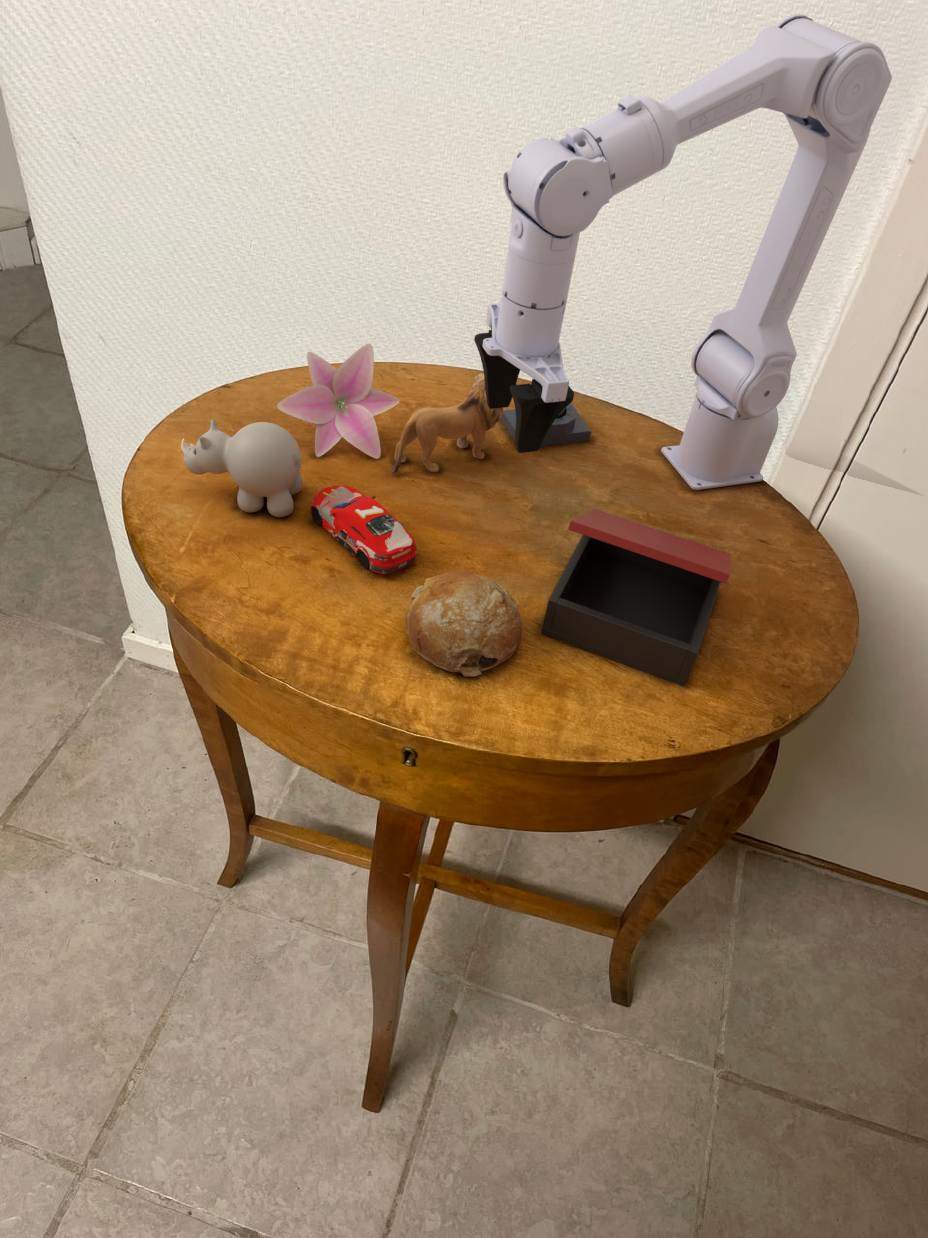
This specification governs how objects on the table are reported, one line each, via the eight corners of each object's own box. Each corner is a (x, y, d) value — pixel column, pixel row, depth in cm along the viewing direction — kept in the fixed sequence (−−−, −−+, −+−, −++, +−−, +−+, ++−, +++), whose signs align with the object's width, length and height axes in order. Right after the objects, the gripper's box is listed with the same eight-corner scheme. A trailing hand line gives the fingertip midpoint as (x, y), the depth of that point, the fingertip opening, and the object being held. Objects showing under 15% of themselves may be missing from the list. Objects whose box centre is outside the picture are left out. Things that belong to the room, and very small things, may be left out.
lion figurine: (480, 427, 107) (490, 357, 101) (510, 449, 104) (522, 379, 98) (377, 465, 99) (381, 392, 93) (407, 490, 97) (413, 417, 90)
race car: (301, 511, 92) (300, 479, 90) (346, 494, 95) (347, 462, 92) (377, 586, 86) (379, 553, 83) (423, 565, 89) (426, 533, 86)
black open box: (684, 686, 81) (697, 653, 78) (540, 633, 84) (548, 599, 81) (713, 594, 90) (727, 561, 87) (583, 549, 93) (592, 515, 90)
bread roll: (422, 703, 81) (447, 675, 74) (382, 599, 83) (402, 563, 76) (518, 671, 85) (551, 642, 78) (477, 573, 87) (505, 537, 80)
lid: (726, 583, 74) (729, 574, 73) (567, 529, 76) (570, 520, 76) (727, 561, 87) (730, 553, 87) (592, 516, 90) (594, 508, 90)
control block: (567, 412, 111) (572, 390, 109) (590, 442, 107) (595, 420, 105) (499, 419, 109) (502, 396, 107) (519, 450, 104) (523, 427, 102)
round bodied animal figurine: (200, 464, 96) (192, 393, 90) (311, 485, 96) (310, 415, 90) (173, 504, 91) (162, 432, 85) (290, 527, 90) (287, 456, 84)
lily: (263, 446, 101) (272, 403, 93) (305, 365, 106) (318, 316, 97) (362, 493, 103) (380, 456, 94) (400, 411, 108) (420, 368, 99)
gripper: (463, 259, 83) (449, 391, 93) (524, 338, 74) (501, 475, 83) (534, 256, 85) (513, 385, 95) (602, 332, 76) (571, 466, 85)
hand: (512, 427), depth 89 cm, fingers open, 7 cm apart
